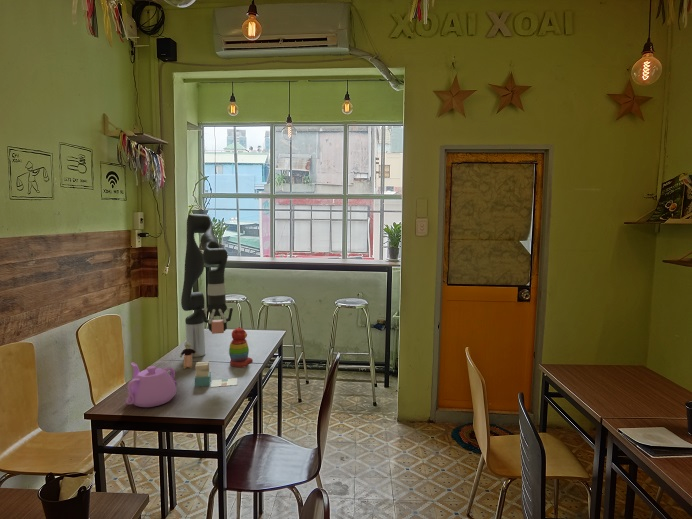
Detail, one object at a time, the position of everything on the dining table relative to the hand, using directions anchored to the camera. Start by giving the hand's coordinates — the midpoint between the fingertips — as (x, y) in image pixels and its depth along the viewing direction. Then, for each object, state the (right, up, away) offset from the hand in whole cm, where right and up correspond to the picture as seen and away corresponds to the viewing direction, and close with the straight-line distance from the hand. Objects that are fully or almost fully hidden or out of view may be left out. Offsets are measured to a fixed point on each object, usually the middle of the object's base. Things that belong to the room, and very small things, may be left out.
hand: (218, 330), depth 198 cm
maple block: (-5, -18, -6) cm, 20 cm away
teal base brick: (-5, -22, -6) cm, 23 cm away
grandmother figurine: (-19, -20, +16) cm, 32 cm away
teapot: (-21, -24, -22) cm, 39 cm away
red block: (0, 0, 0) cm, 0 cm away
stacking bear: (+5, -20, +21) cm, 29 cm away
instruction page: (+4, -22, -5) cm, 23 cm away
